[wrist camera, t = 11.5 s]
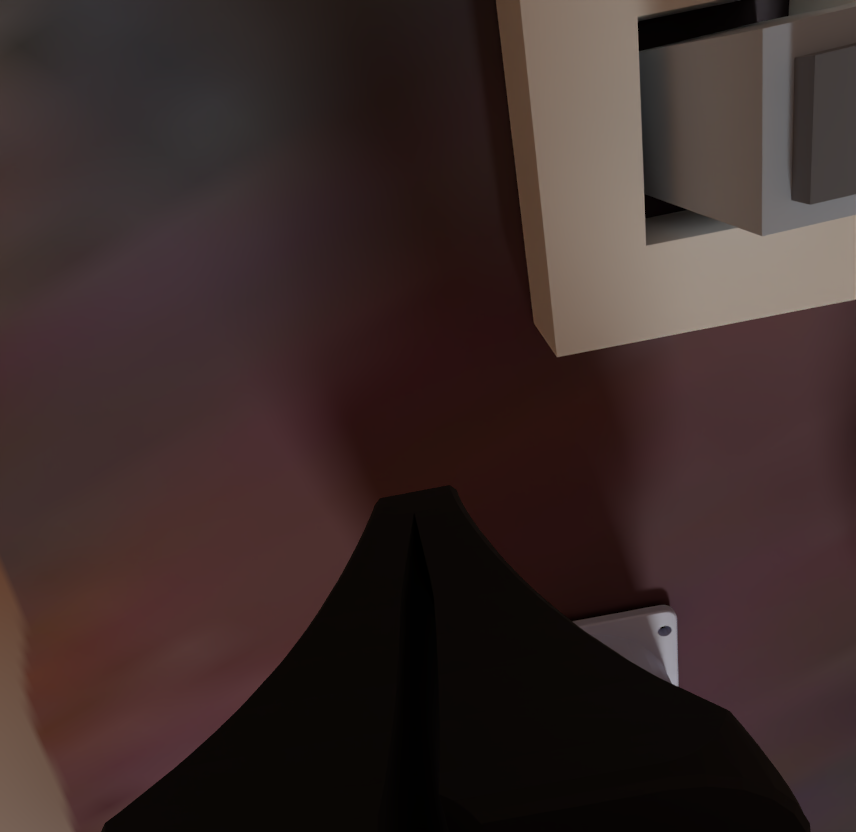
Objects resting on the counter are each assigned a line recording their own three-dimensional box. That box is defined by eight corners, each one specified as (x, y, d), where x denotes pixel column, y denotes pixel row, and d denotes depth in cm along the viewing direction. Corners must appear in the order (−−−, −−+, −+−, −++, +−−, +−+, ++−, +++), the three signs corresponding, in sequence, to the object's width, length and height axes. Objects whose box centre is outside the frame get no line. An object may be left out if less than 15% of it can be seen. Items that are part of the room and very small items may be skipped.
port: (857, 260, 20) (942, 288, 17) (533, 323, 20) (560, 362, 17) (899, -153, 16) (1022, -213, 13) (487, -67, 16) (513, -106, 13)
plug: (756, 162, 19) (972, 197, 12) (635, 190, 19) (779, 242, 12) (757, 22, 17) (1002, -29, 10) (624, 54, 17) (782, 25, 11)
